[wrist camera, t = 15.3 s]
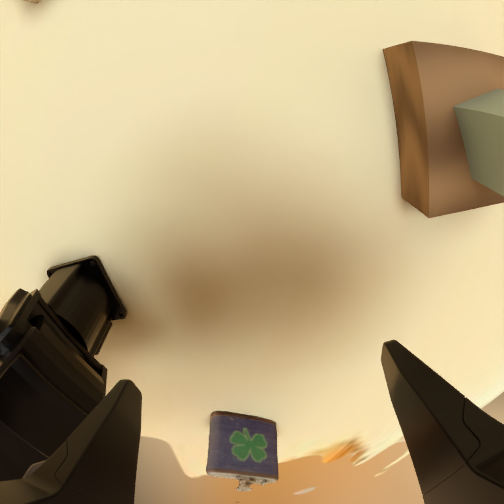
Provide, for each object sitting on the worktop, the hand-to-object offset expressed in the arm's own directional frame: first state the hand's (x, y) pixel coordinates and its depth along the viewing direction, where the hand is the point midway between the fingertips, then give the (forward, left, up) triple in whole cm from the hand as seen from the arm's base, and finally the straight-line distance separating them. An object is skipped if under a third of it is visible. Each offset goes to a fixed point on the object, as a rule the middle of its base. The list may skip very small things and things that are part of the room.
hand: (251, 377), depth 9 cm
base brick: (-5, +17, -13) cm, 22 cm away
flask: (+27, -7, -13) cm, 31 cm away
